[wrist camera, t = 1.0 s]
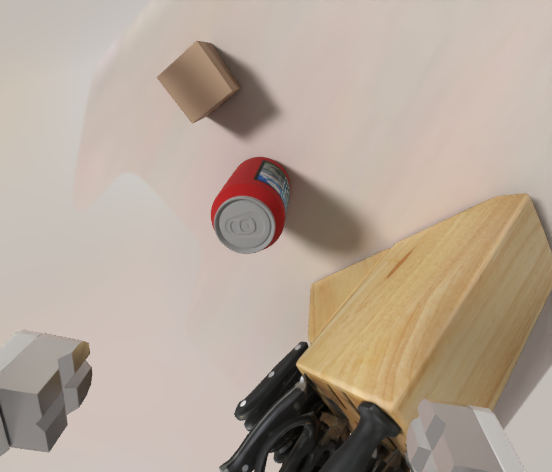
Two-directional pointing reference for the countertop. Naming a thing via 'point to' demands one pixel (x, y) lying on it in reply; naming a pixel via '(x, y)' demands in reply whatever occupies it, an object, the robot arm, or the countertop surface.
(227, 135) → the countertop surface
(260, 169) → the beverage can
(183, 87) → the walnut block
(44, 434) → the robot arm
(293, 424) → the knife block
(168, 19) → the countertop surface
